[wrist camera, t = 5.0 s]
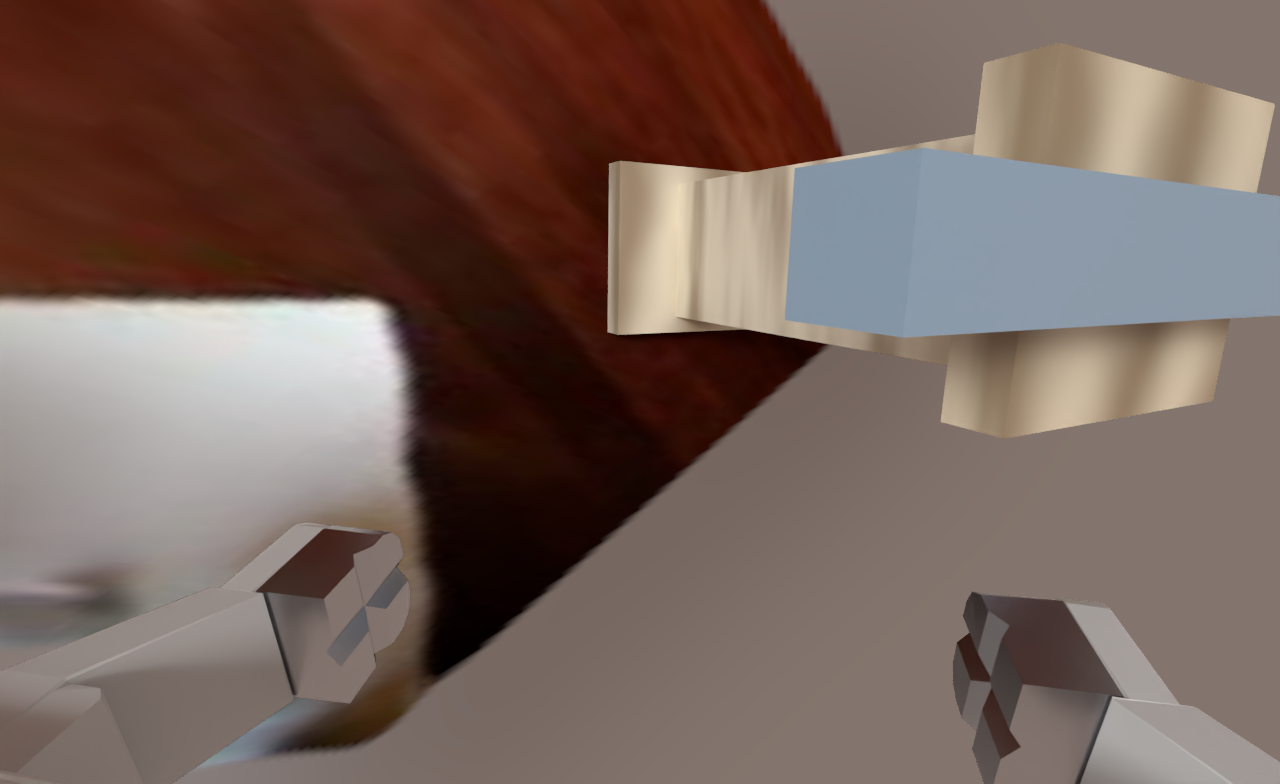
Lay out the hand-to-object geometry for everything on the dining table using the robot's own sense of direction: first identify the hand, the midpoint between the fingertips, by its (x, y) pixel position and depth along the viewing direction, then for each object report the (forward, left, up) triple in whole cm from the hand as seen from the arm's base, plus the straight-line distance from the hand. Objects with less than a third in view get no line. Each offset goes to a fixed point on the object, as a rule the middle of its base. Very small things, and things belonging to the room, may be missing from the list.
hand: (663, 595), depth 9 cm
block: (+15, 0, -3) cm, 16 cm away
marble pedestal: (+19, -1, -29) cm, 35 cm away
